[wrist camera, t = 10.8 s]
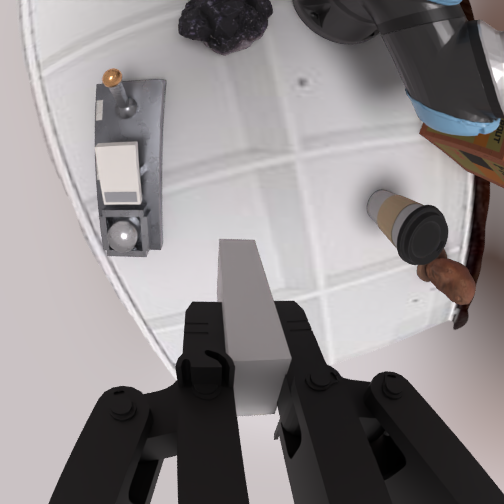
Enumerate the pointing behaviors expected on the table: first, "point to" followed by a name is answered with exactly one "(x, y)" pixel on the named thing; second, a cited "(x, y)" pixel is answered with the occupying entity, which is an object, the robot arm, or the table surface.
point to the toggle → (116, 87)
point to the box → (473, 151)
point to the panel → (149, 153)
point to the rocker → (119, 172)
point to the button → (124, 234)
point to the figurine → (449, 278)
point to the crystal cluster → (225, 23)
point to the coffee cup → (409, 226)
